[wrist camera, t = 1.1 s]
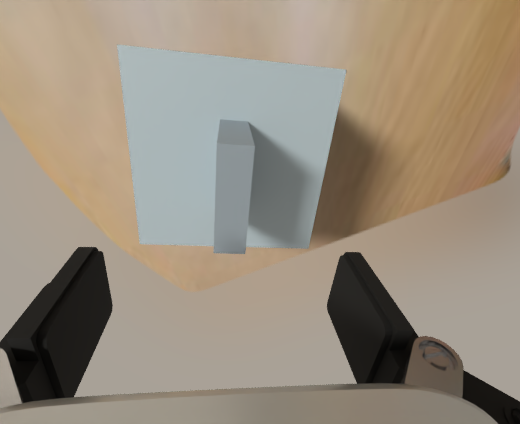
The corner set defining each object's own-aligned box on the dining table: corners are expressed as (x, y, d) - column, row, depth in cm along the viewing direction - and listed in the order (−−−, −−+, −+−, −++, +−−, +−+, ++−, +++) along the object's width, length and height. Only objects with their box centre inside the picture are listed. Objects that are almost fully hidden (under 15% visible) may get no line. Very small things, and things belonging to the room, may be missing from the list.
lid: (336, 68, 22) (393, 75, 14) (303, 235, 29) (329, 300, 21) (127, 45, 20) (65, 39, 12) (146, 230, 27) (113, 299, 19)
